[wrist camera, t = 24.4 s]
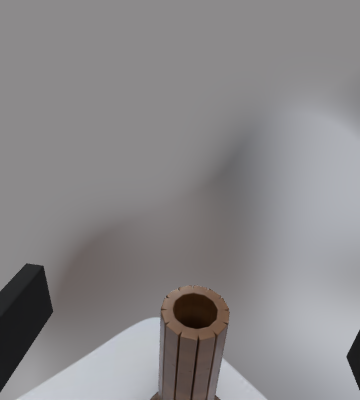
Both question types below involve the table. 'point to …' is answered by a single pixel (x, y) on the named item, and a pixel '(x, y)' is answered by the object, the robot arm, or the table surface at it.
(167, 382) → the brown wooden hollow cylinder
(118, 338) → the table surface
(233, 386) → the table surface
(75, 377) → the table surface
